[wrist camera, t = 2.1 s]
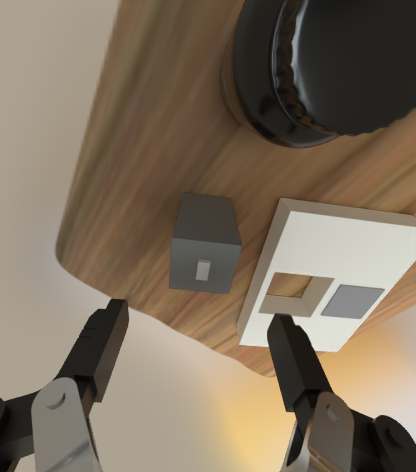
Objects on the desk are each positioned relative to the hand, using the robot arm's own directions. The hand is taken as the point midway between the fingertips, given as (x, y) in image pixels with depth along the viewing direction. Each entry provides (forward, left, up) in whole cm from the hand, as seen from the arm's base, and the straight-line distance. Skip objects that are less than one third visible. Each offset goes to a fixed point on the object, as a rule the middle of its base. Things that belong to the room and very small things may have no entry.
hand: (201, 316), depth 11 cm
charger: (0, 0, -12) cm, 12 cm away
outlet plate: (+7, +14, -12) cm, 19 cm away
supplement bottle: (-12, +3, -12) cm, 17 cm away
